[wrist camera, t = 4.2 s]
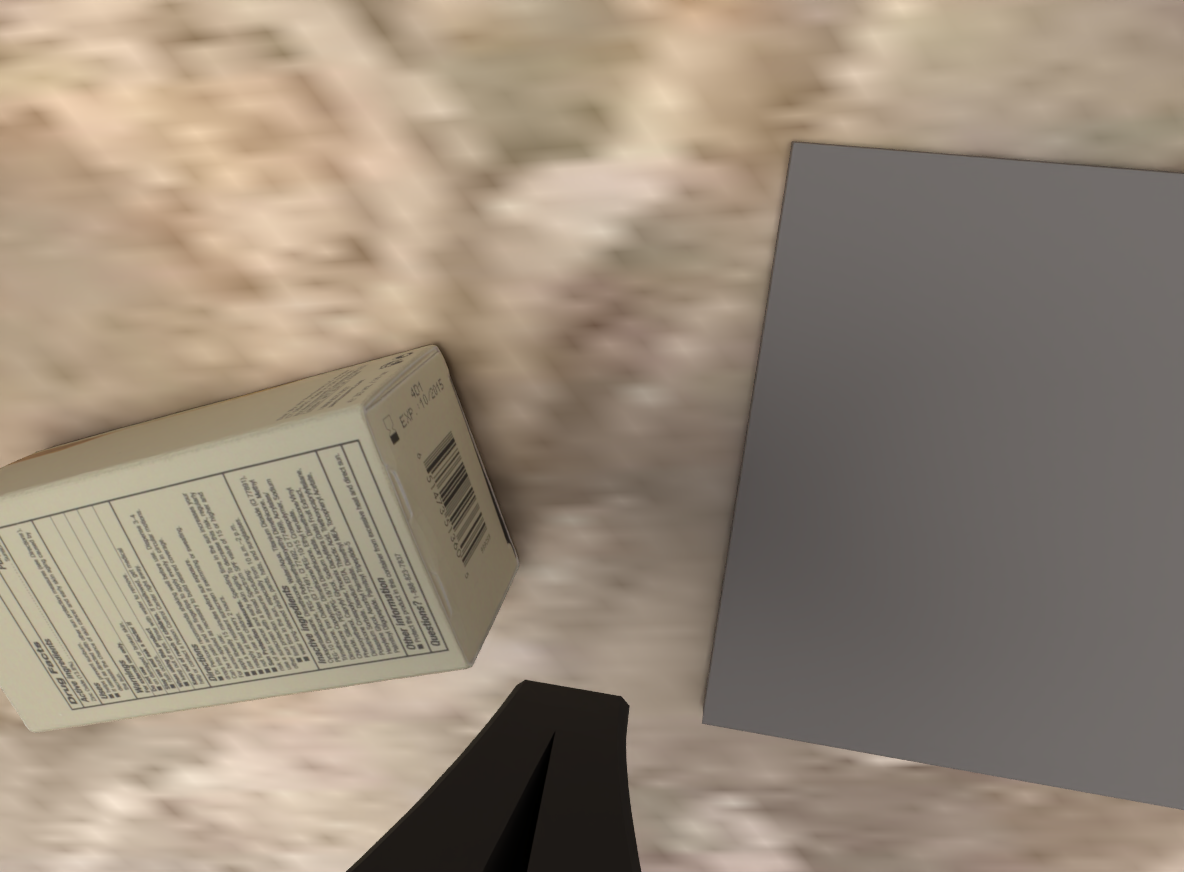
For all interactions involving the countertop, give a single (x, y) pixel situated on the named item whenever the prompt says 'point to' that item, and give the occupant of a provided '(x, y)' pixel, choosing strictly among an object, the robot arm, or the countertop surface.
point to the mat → (966, 473)
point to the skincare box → (251, 550)
